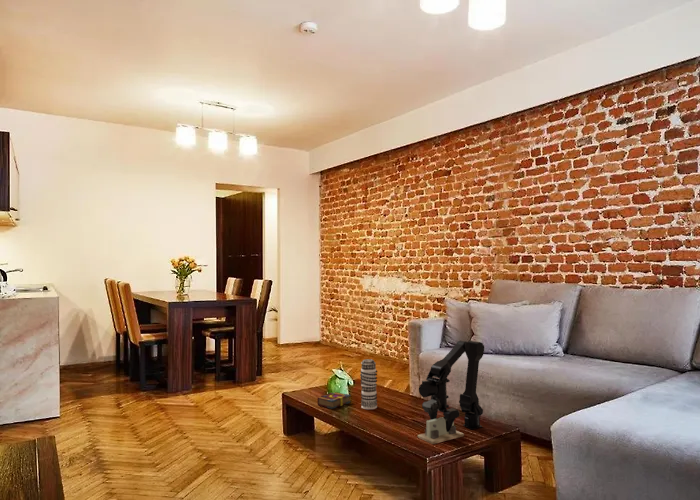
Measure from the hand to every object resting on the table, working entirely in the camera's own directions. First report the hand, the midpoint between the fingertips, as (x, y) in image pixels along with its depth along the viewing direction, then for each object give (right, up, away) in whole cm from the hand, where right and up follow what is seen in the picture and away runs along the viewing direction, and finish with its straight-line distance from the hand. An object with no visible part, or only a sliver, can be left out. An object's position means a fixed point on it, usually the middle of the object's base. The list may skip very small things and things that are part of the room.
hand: (440, 428), depth 223 cm
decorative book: (-49, -6, +54) cm, 73 cm away
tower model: (-30, -5, +46) cm, 55 cm away
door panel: (0, -3, 0) cm, 3 cm away
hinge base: (0, -4, 0) cm, 4 cm away
